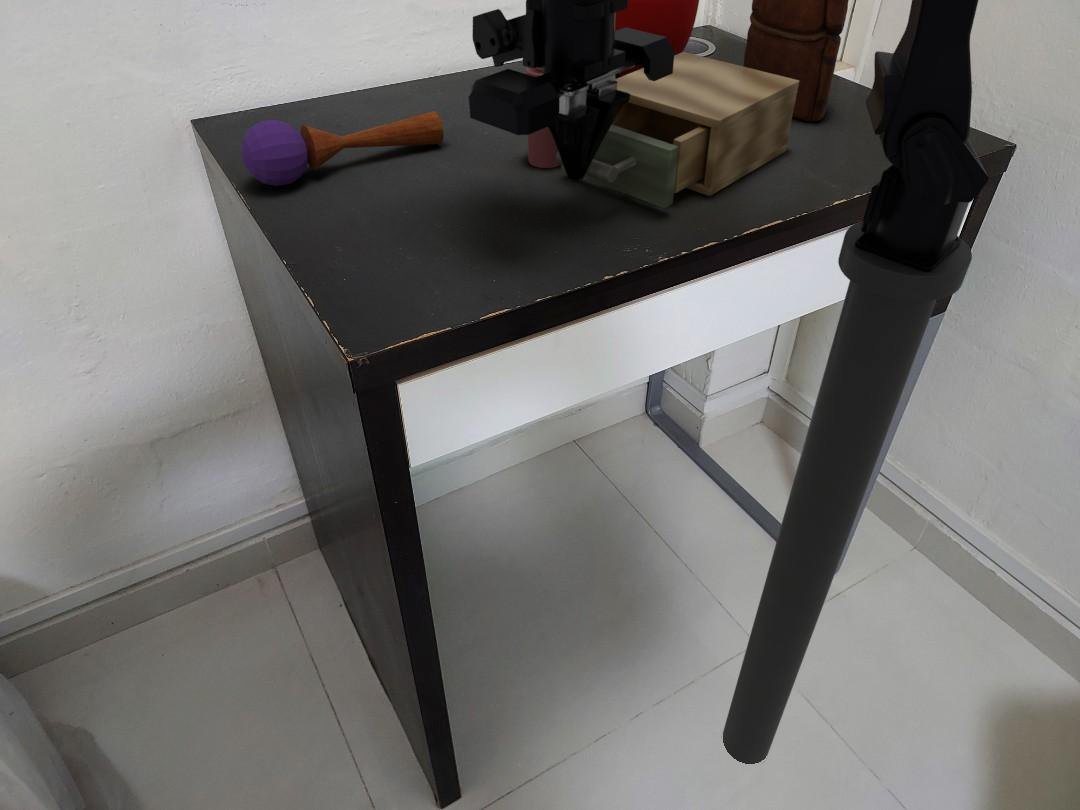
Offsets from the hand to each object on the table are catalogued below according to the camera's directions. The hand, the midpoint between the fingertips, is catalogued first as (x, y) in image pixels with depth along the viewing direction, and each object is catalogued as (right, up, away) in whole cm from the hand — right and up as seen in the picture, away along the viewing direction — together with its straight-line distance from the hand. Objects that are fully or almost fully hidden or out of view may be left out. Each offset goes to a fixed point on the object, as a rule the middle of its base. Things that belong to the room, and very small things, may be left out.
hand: (575, 179), depth 68 cm
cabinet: (+12, +6, +12) cm, 18 cm away
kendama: (-22, +4, +11) cm, 25 cm away
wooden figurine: (+25, +15, +22) cm, 36 cm away
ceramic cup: (+11, +24, +33) cm, 42 cm away
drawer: (+6, +2, +7) cm, 10 cm away
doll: (-2, +5, +11) cm, 13 cm away
